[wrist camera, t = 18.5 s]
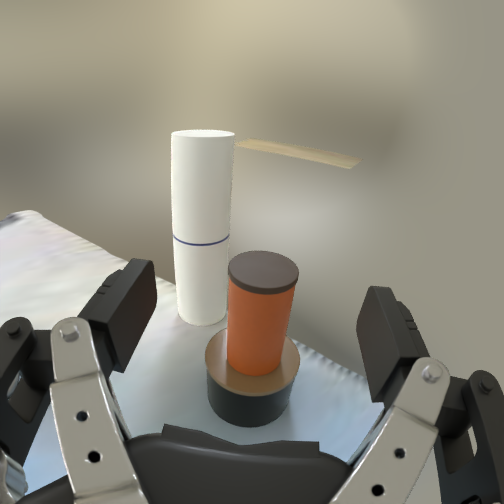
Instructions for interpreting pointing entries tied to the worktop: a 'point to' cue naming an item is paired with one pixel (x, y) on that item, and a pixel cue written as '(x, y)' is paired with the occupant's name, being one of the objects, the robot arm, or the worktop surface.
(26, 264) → the worktop surface
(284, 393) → the black canister
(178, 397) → the worktop surface
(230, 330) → the orange tin
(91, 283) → the worktop surface
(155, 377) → the worktop surface
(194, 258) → the cylindrical container
